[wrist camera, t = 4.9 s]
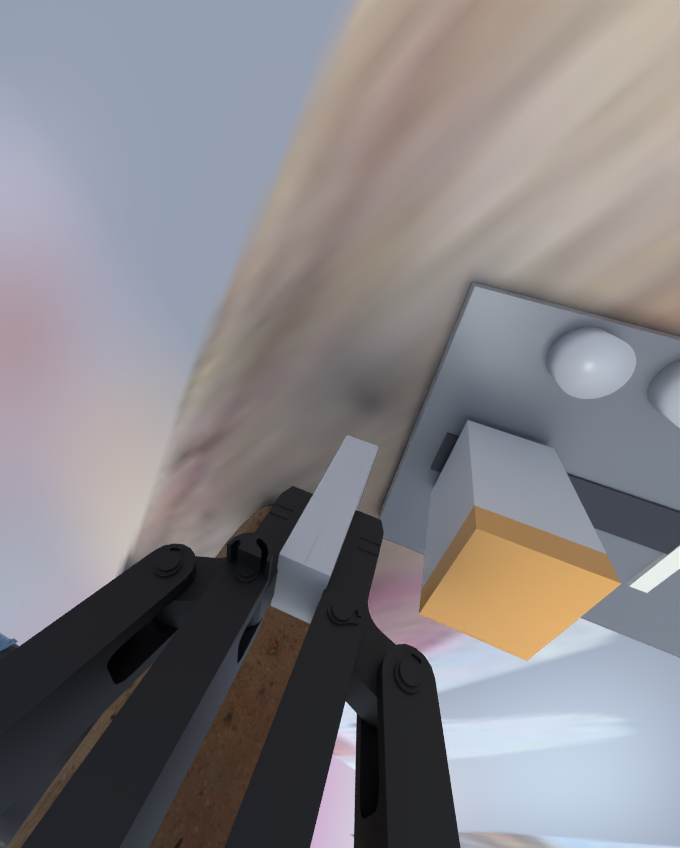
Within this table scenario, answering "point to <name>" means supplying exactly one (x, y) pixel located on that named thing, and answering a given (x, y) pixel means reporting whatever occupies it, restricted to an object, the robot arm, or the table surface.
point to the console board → (567, 437)
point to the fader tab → (510, 545)
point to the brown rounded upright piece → (212, 737)
